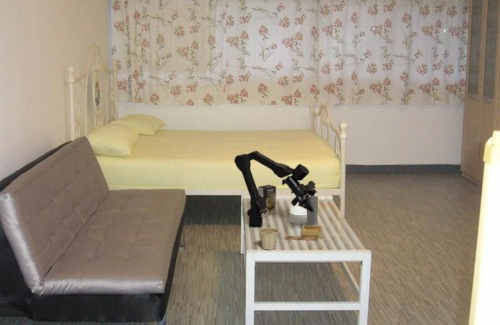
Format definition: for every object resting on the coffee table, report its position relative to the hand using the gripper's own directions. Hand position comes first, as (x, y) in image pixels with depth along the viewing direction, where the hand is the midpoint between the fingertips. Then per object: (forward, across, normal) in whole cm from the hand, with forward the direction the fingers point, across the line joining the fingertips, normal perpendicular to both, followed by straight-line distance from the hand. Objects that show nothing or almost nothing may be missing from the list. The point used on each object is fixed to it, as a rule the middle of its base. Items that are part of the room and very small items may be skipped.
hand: (314, 210), depth 298 cm
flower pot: (+2, -28, +17) cm, 33 cm away
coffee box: (-19, +24, +39) cm, 49 cm away
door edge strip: (+7, -8, +11) cm, 16 cm away
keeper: (+8, 0, +10) cm, 13 cm away
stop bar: (+4, 0, +6) cm, 7 cm away
